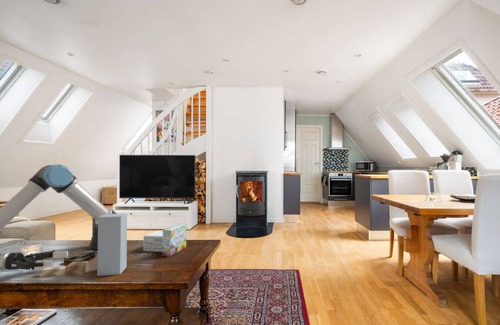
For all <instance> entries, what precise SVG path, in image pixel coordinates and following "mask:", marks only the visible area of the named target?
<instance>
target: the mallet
mask: <svg viewBox="0 0 500 325" xmlns="http://www.w3.org/2000/svg"><path fill="white" fill-rule="evenodd" d="M88 271H89V260H85V261H84V260H83V261H72V262H71V263H69V264H67V265H66V266H52V267H41V268H40V269H39V270H38V273H39V274H38V276H39V277H55V276H57V277H59V276H64V277H81V276H83V275H85V274H86V272H88Z"/></svg>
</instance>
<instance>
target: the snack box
mask: <svg viewBox="0 0 500 325" xmlns="http://www.w3.org/2000/svg"><path fill="white" fill-rule="evenodd" d="M162 231H163V241H162V252H161V253H162V254H161V256H162V257H168V258H169V257H172V256H174V255H175V254H176V253H178V252H180V251H181V250H183V249H185V248H186V247H187V223H177V224H175V225H172V226H170V227H168V228H165V229H162Z"/></svg>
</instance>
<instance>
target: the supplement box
mask: <svg viewBox="0 0 500 325" xmlns="http://www.w3.org/2000/svg"><path fill="white" fill-rule="evenodd" d="M162 241H163V230H155V231H153V232H151V233H147V234H146V235H144V236H143V250H142V251H144V252H161V253H162Z"/></svg>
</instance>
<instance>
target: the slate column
mask: <svg viewBox="0 0 500 325" xmlns="http://www.w3.org/2000/svg"><path fill="white" fill-rule="evenodd" d="M127 236H128V213H127V212H126V213H125V212H124V213H117V214H105V215H102V216H100V217H98V250H97V267H96V268H97V270H96V271H97V272H96V273H97V274H96V276H99V277H100V276H114V275H121V274H122V273H123V271H124V270H125V269H126V268H127V261H128V260H127V255H128V253H127V252H128V251H127V250H128V248H127V247H128V246H127V244H128V237H127Z"/></svg>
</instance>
